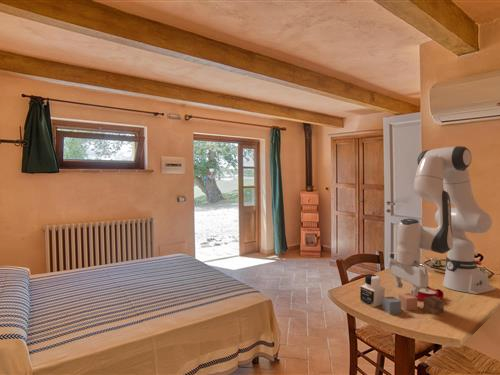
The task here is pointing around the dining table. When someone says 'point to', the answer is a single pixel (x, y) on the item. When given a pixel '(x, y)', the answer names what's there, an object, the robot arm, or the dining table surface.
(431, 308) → the walnut block
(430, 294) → the alarm clock
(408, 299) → the terracotta block
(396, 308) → the slate-grey block
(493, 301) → the dining table surface
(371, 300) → the medicine bottle
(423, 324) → the dining table surface
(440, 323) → the dining table surface
